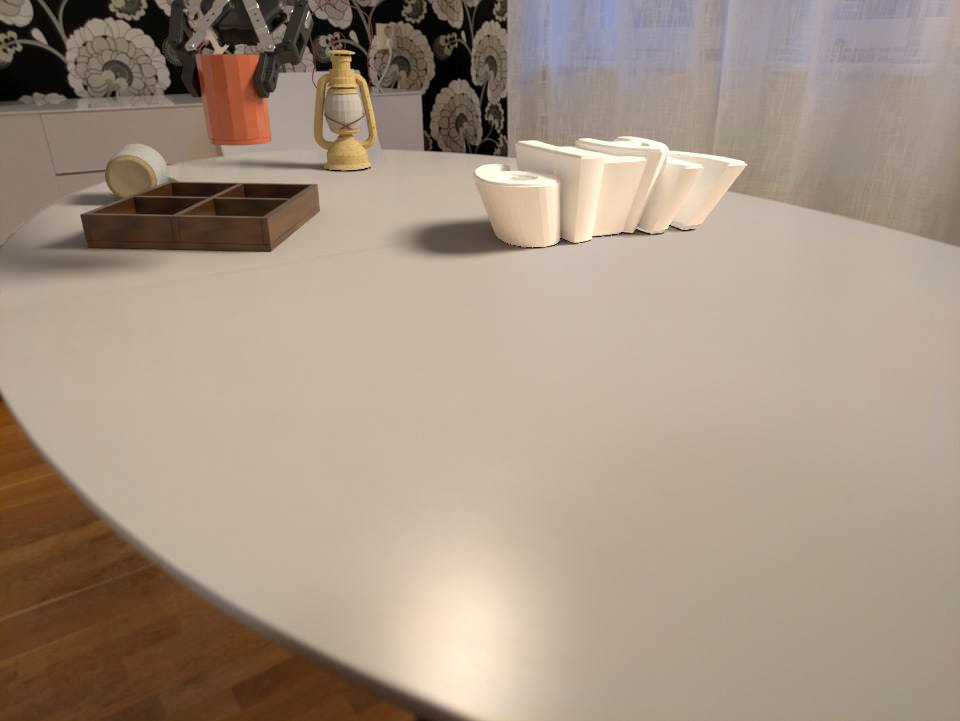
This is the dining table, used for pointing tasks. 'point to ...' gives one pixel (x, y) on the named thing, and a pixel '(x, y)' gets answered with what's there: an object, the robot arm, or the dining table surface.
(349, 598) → the dining table surface
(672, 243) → the dining table surface
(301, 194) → the tray
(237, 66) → the cup
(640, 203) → the white wavy slab sculpture
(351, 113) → the lantern
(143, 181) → the ceramic mug
